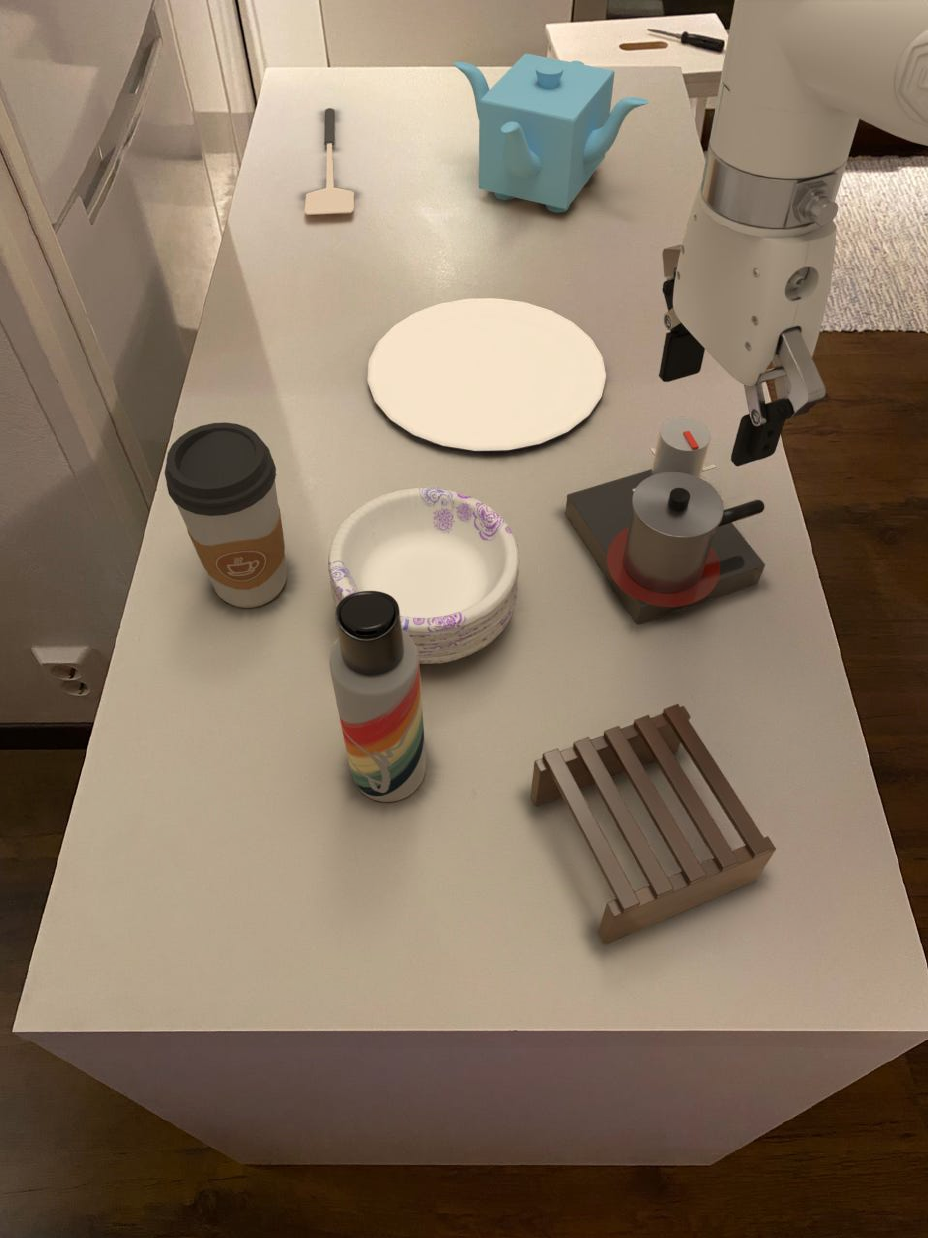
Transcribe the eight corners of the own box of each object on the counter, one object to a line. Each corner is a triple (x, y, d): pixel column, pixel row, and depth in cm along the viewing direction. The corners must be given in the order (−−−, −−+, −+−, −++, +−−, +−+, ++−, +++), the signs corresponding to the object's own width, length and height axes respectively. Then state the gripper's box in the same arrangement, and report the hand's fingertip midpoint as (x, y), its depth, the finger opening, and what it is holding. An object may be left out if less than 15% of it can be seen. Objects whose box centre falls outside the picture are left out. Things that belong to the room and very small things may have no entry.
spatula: (305, 225, 118) (304, 213, 117) (308, 113, 135) (307, 102, 134) (354, 222, 118) (353, 211, 117) (351, 111, 136) (350, 100, 135)
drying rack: (671, 742, 73) (685, 700, 68) (756, 880, 66) (779, 845, 62) (530, 795, 70) (534, 756, 66) (604, 945, 64) (615, 913, 59)
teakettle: (576, 142, 130) (586, 23, 119) (638, 210, 120) (657, 87, 108) (447, 167, 126) (445, 47, 115) (500, 239, 116) (503, 115, 104)
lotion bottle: (349, 804, 70) (314, 648, 54) (353, 737, 73) (322, 571, 58) (426, 803, 70) (414, 647, 54) (427, 736, 74) (416, 571, 58)
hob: (686, 456, 92) (691, 436, 90) (780, 575, 83) (789, 555, 81) (554, 496, 89) (556, 476, 87) (637, 625, 80) (641, 605, 78)
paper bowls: (526, 557, 85) (531, 494, 78) (501, 699, 76) (504, 641, 69) (360, 536, 86) (352, 472, 80) (317, 673, 77) (303, 613, 71)
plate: (422, 286, 110) (421, 277, 109) (631, 334, 104) (633, 324, 103) (327, 422, 96) (325, 412, 95) (564, 485, 90) (565, 475, 89)
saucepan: (605, 545, 82) (618, 476, 75) (731, 505, 85) (753, 435, 78) (646, 605, 78) (662, 538, 71) (776, 561, 81) (803, 493, 74)
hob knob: (643, 466, 88) (653, 418, 83) (687, 458, 89) (699, 410, 84) (661, 499, 85) (672, 451, 81) (706, 490, 86) (720, 442, 81)
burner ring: (683, 509, 85) (683, 508, 85) (741, 586, 79) (741, 586, 79) (587, 540, 83) (587, 539, 82) (640, 621, 77) (640, 620, 77)
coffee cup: (205, 627, 80) (159, 502, 68) (201, 554, 85) (158, 425, 73) (304, 610, 81) (276, 484, 69) (294, 539, 86) (266, 410, 74)
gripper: (924, 239, 49) (831, 478, 63) (744, 103, 59) (697, 335, 73) (803, 273, 48) (734, 511, 61) (638, 126, 58) (610, 359, 71)
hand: (714, 415), depth 67 cm, fingers open, 9 cm apart
